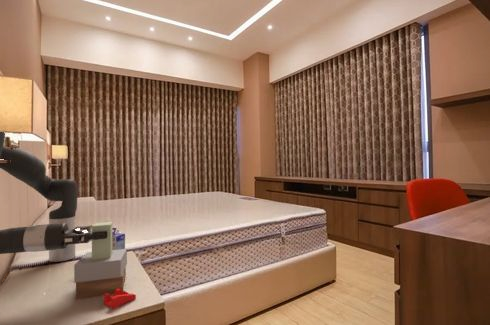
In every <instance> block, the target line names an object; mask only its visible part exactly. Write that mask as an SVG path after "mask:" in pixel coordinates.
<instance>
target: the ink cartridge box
mask: <svg viewBox="0 0 490 325" xmlns="http://www.w3.org/2000/svg"><path fill="white" fill-rule="evenodd" d="M116 232H117V227H112V250H119V249H126V234H125V233H121V234H115V233H116Z"/></svg>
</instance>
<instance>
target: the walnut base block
mask: <svg viewBox="0 0 490 325" xmlns="http://www.w3.org/2000/svg"><path fill="white" fill-rule="evenodd" d="M126 269H127V266H126V267H125V269H124V271H123V273H122V275H121V277H118V278H110V279H101V280H93V281H85V282H77V283H75V301H79V300H85V299H92V298H98V297H102V296H103V297H104V294H106V293H108V294H110V295H113V294H114V293H115V289H118V288H119V289H121V290H123V291H124V289H125V284H126V279H125V278H127V276H126V274H127V272H126V271H127V270H126ZM124 283H125V284H124Z"/></svg>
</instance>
